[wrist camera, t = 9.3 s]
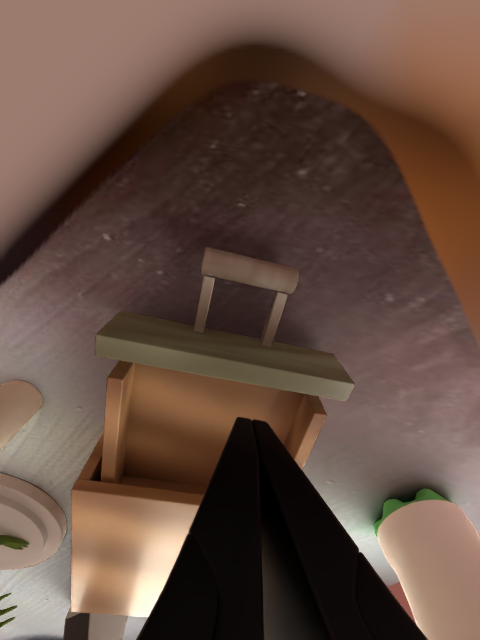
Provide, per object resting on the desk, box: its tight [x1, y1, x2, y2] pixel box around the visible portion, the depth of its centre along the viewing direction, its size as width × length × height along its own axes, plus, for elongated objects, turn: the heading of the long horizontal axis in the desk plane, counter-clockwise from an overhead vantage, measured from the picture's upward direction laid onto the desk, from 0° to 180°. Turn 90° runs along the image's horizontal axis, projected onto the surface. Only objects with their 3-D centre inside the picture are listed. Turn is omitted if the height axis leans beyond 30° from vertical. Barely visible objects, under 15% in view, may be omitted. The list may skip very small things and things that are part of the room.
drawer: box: [95, 247, 355, 495], centre depth 16 cm, size 18×13×3 cm
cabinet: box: [71, 432, 204, 617], centre depth 21 cm, size 14×14×5 cm
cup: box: [374, 489, 480, 640], centre depth 18 cm, size 11×11×14 cm
